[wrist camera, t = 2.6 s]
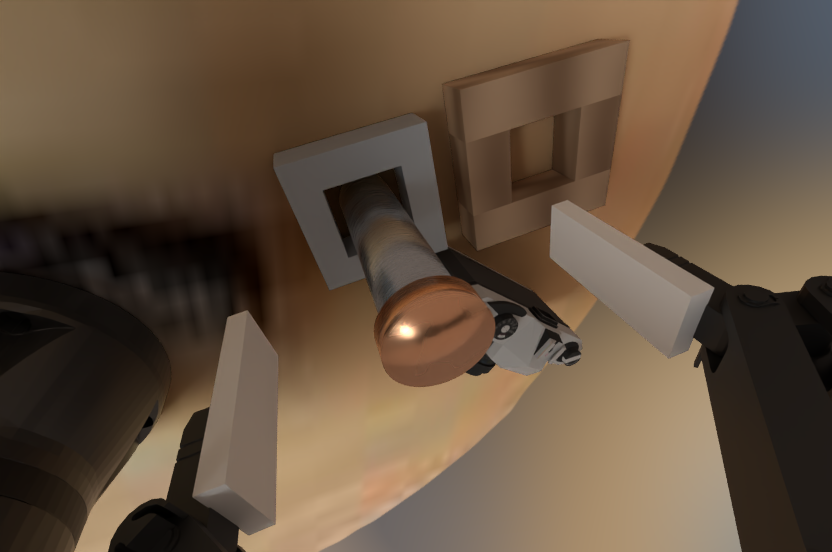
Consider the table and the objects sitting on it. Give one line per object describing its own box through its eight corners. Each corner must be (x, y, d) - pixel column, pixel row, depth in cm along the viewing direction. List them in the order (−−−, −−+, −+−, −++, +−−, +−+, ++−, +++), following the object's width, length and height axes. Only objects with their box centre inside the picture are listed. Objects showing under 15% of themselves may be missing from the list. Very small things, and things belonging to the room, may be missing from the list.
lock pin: (344, 234, 23) (397, 401, 13) (322, 177, 21) (366, 325, 10) (402, 215, 24) (498, 360, 13) (387, 157, 21) (491, 279, 11)
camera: (379, 313, 28) (422, 412, 21) (433, 233, 25) (501, 316, 19) (488, 339, 35) (544, 417, 29) (538, 279, 33) (613, 350, 26)
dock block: (462, 234, 26) (477, 250, 24) (442, 84, 20) (459, 89, 18) (581, 192, 27) (605, 205, 25) (597, 39, 21) (629, 40, 19)
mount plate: (325, 269, 24) (329, 290, 22) (273, 153, 19) (273, 167, 17) (434, 231, 25) (448, 248, 23) (412, 112, 20) (426, 121, 18)
